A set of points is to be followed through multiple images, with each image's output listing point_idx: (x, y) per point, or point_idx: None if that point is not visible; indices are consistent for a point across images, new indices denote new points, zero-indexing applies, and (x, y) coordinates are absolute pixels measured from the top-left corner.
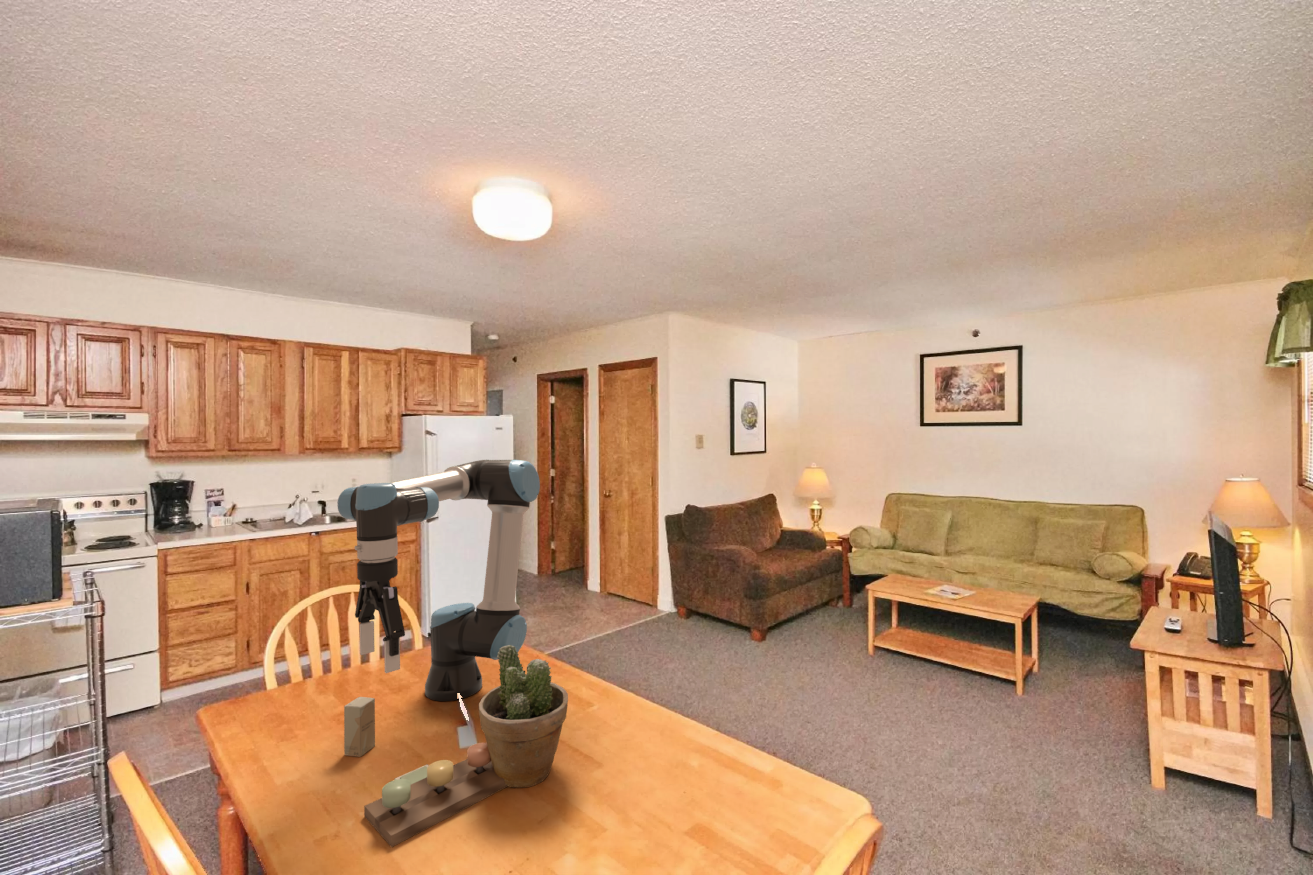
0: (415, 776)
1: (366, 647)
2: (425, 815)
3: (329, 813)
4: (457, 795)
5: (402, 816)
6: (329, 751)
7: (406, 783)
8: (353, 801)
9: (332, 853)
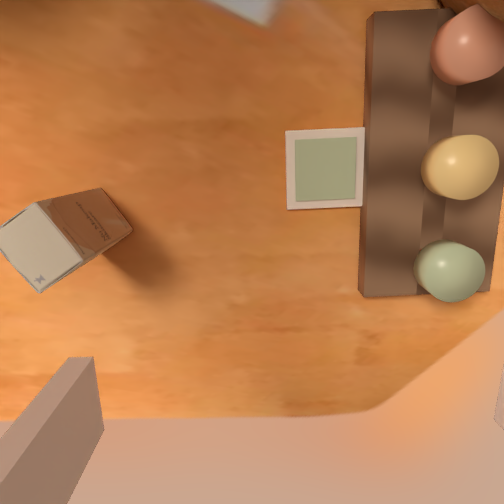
0: (320, 175)
1: (82, 430)
2: (489, 224)
3: (300, 329)
4: None
5: None
6: None
7: (462, 254)
8: (295, 289)
9: (412, 352)
